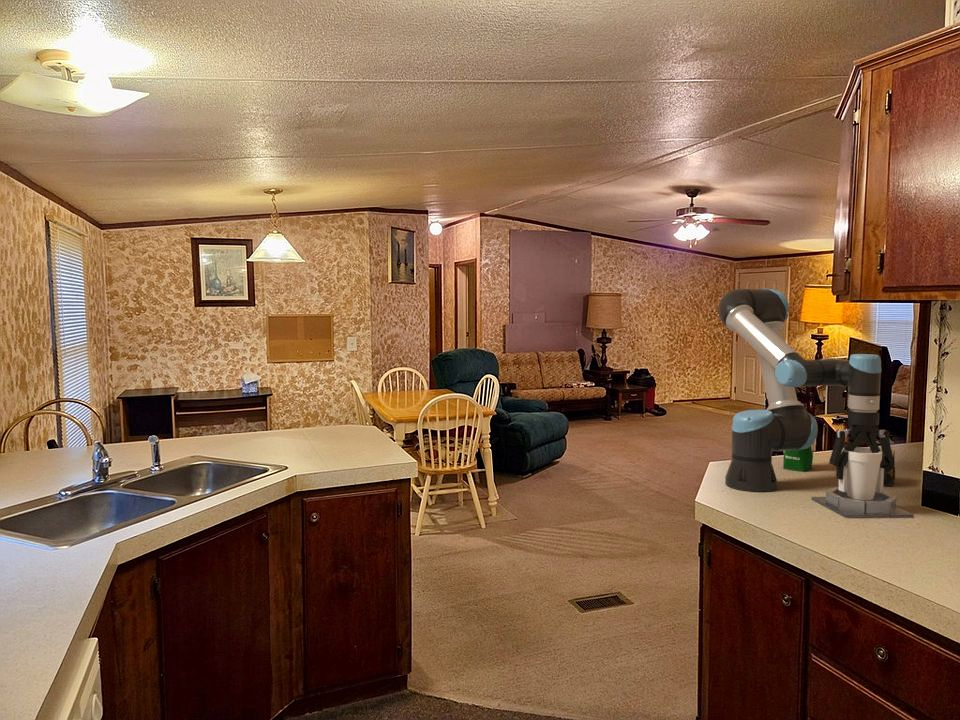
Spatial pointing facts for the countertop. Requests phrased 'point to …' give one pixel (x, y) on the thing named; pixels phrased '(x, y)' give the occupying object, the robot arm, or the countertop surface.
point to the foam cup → (862, 472)
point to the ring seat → (862, 505)
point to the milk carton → (798, 459)
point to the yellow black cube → (890, 473)
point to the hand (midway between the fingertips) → (860, 490)
